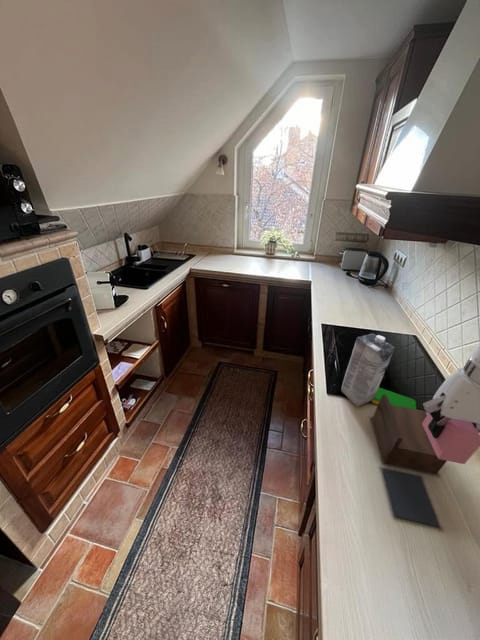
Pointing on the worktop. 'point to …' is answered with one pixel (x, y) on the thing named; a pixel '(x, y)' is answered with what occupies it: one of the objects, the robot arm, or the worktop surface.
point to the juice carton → (366, 368)
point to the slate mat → (409, 497)
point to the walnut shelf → (404, 437)
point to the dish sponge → (394, 399)
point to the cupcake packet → (454, 440)
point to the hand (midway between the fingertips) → (447, 434)
